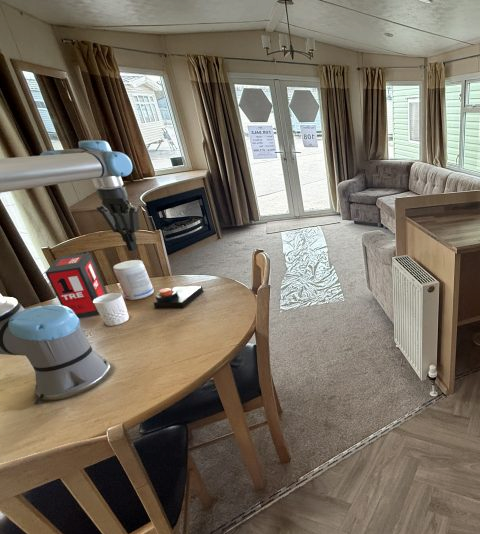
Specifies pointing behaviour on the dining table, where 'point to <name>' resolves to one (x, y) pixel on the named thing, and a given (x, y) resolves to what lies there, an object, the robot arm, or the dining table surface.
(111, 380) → the dining table surface
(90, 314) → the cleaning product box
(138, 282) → the supplement tub
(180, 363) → the dining table surface
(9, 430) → the dining table surface
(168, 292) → the oven button
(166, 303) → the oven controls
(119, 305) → the white cup
